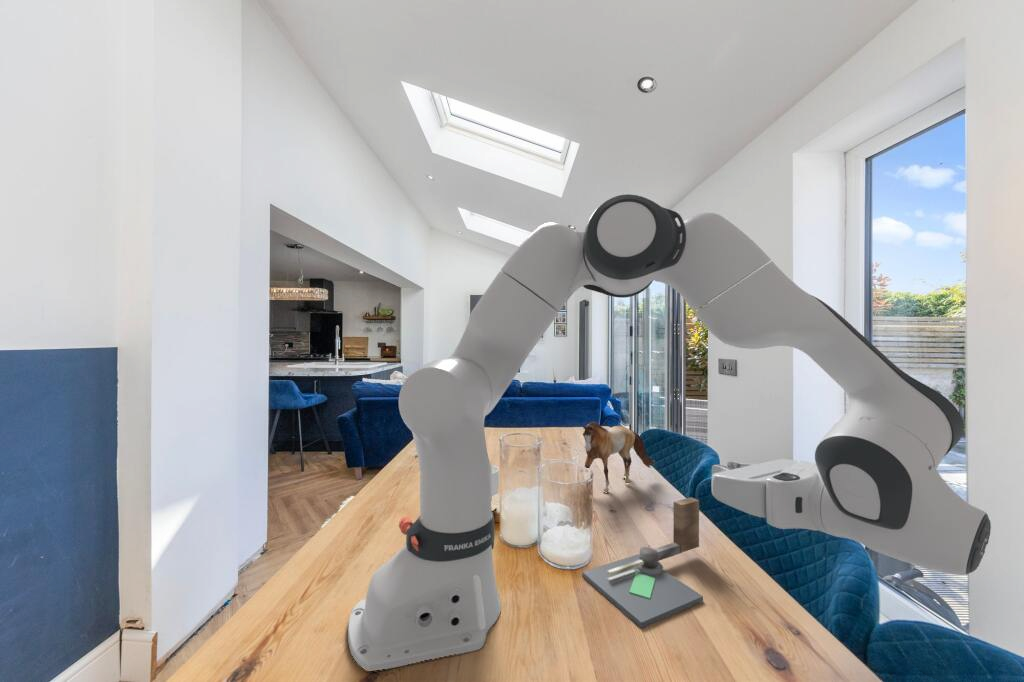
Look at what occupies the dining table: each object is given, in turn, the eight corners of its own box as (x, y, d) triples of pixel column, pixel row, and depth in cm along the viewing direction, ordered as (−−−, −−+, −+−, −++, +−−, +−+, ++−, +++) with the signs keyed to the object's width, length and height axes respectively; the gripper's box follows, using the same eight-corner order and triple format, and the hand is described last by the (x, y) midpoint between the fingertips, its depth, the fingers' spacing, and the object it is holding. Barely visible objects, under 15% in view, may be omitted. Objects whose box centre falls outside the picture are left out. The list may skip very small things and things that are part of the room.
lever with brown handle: (614, 581, 65) (615, 524, 65) (602, 571, 68) (602, 517, 68) (702, 551, 75) (702, 501, 75) (687, 543, 78) (688, 496, 78)
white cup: (494, 517, 92) (494, 475, 92) (463, 514, 94) (463, 472, 94) (501, 504, 100) (502, 465, 100) (472, 501, 101) (473, 463, 101)
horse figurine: (587, 504, 100) (588, 425, 100) (566, 494, 106) (567, 420, 107) (655, 480, 119) (656, 413, 119) (634, 473, 125) (634, 410, 125)
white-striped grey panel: (641, 628, 56) (641, 620, 56) (582, 576, 69) (582, 570, 69) (706, 599, 63) (706, 592, 63) (641, 557, 75) (641, 551, 75)
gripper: (848, 463, 60) (757, 443, 72) (771, 483, 51) (682, 456, 63) (848, 504, 60) (757, 476, 72) (771, 531, 51) (682, 495, 63)
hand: (722, 467), depth 68 cm, fingers open, 3 cm apart
